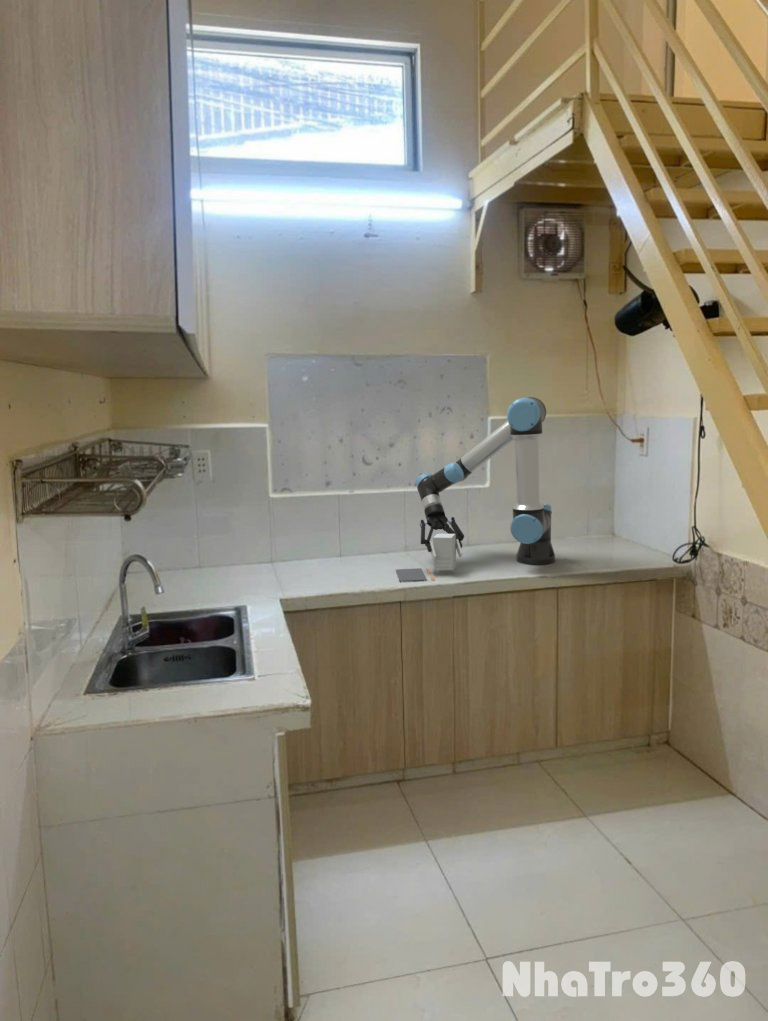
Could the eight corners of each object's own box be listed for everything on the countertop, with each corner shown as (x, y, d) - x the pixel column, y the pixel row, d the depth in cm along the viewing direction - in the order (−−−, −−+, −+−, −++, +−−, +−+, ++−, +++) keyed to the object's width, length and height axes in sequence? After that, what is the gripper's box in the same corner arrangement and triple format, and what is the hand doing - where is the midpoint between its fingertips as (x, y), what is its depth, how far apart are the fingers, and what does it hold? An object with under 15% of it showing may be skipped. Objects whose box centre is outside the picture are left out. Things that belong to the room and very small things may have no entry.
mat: (421, 569, 267) (421, 568, 266) (426, 580, 251) (426, 579, 251) (395, 570, 266) (395, 569, 266) (399, 582, 250) (399, 580, 250)
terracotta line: (429, 569, 267) (429, 568, 267) (435, 580, 251) (435, 579, 251) (426, 569, 267) (426, 568, 267) (432, 580, 251) (432, 579, 251)
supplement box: (457, 565, 263) (456, 533, 261) (452, 570, 256) (451, 537, 254) (438, 564, 266) (437, 532, 263) (433, 569, 259) (432, 537, 257)
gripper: (457, 512, 275) (473, 559, 263) (404, 516, 270) (417, 565, 257) (462, 500, 269) (478, 548, 257) (407, 505, 264) (421, 554, 252)
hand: (447, 556), depth 257 cm, fingers closed on supplement box, 10 cm apart
